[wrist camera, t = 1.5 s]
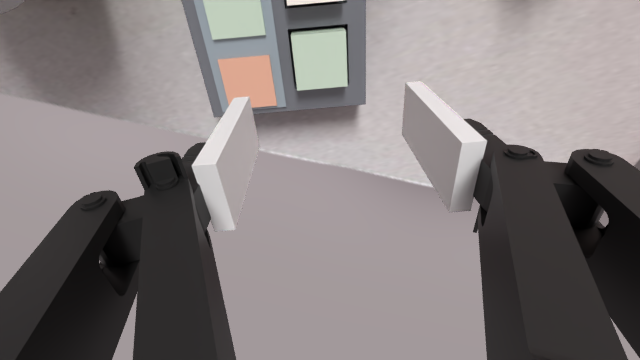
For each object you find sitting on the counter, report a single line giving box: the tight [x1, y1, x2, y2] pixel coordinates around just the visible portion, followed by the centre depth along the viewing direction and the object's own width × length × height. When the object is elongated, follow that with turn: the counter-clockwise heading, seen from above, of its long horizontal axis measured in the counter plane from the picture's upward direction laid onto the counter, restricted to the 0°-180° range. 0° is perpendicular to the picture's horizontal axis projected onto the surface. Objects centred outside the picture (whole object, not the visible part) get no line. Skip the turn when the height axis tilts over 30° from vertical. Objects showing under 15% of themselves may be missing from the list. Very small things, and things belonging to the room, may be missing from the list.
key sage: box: [291, 27, 348, 91], centre depth 27 cm, size 4×4×2 cm
